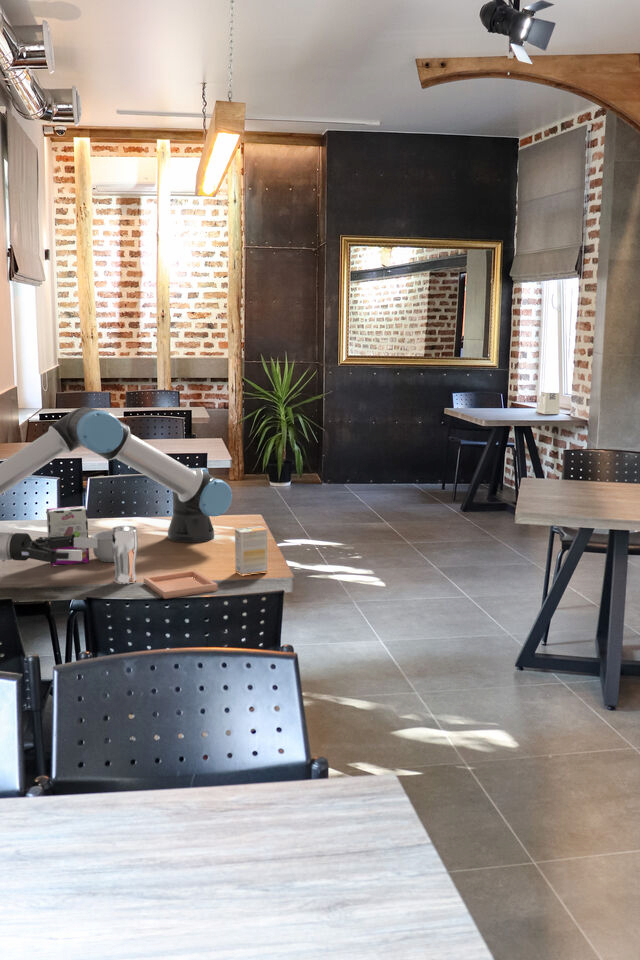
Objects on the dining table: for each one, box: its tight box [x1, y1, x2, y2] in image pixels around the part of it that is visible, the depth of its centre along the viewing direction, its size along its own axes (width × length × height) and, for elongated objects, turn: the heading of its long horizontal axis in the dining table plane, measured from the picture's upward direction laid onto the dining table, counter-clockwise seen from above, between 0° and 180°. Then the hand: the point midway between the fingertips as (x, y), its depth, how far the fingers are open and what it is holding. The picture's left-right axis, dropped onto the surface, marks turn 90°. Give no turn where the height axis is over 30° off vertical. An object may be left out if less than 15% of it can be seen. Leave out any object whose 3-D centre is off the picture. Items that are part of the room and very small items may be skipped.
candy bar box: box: [46, 505, 90, 567], centre depth 263 cm, size 11×5×16 cm, turn 114°
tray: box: [143, 569, 218, 600], centre depth 243 cm, size 15×15×2 cm
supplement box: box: [234, 525, 268, 575], centre depth 256 cm, size 8×5×13 cm, turn 117°
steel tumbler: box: [111, 525, 139, 585], centre depth 246 cm, size 7×7×15 cm
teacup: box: [90, 529, 114, 563], centre depth 270 cm, size 14×11×8 cm
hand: (89, 549), depth 246 cm, fingers open, 13 cm apart
